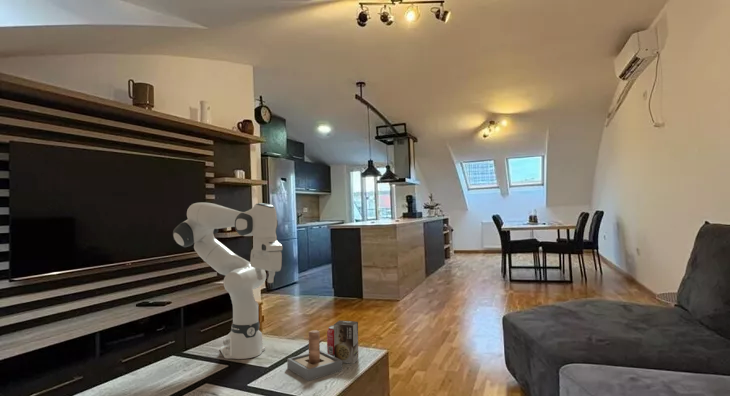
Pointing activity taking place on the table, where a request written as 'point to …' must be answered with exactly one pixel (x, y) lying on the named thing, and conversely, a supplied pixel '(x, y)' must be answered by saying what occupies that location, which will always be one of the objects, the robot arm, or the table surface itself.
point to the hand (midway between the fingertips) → (264, 281)
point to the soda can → (330, 340)
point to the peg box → (314, 366)
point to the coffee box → (346, 341)
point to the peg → (314, 347)
